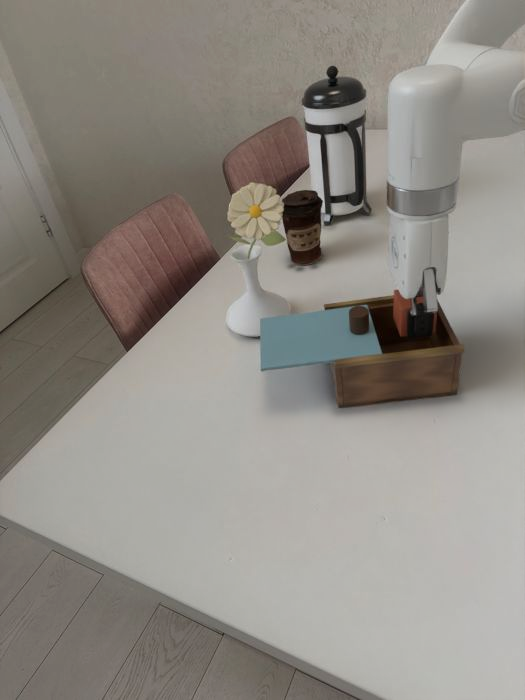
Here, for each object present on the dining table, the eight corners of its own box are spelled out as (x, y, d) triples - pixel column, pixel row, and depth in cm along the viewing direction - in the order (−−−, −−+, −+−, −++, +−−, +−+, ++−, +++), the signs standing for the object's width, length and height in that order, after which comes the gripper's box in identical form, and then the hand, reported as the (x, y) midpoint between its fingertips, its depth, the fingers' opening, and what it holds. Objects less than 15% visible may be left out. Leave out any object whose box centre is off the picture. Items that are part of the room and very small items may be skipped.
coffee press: (293, 223, 114) (275, 78, 95) (327, 194, 123) (317, 57, 104) (362, 234, 105) (358, 77, 86) (394, 202, 114) (396, 54, 95)
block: (426, 312, 69) (428, 285, 66) (435, 332, 65) (437, 304, 62) (393, 317, 69) (393, 289, 66) (400, 337, 65) (401, 309, 63)
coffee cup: (332, 264, 98) (327, 201, 90) (291, 273, 97) (282, 211, 89) (321, 244, 104) (315, 184, 96) (282, 252, 104) (273, 193, 96)
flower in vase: (217, 338, 85) (179, 199, 69) (243, 300, 93) (214, 167, 77) (288, 348, 80) (266, 200, 64) (309, 307, 88) (294, 166, 72)
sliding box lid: (367, 307, 72) (366, 286, 70) (382, 356, 63) (382, 335, 61) (260, 321, 73) (256, 301, 71) (261, 371, 65) (256, 351, 62)
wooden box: (431, 337, 77) (435, 289, 71) (458, 397, 67) (465, 347, 61) (327, 350, 78) (323, 304, 73) (338, 411, 68) (335, 363, 63)
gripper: (373, 171, 62) (374, 292, 74) (405, 232, 49) (400, 368, 61) (434, 162, 62) (426, 286, 73) (482, 221, 49) (463, 361, 60)
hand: (414, 322), depth 67 cm, fingers closed on block, 4 cm apart
